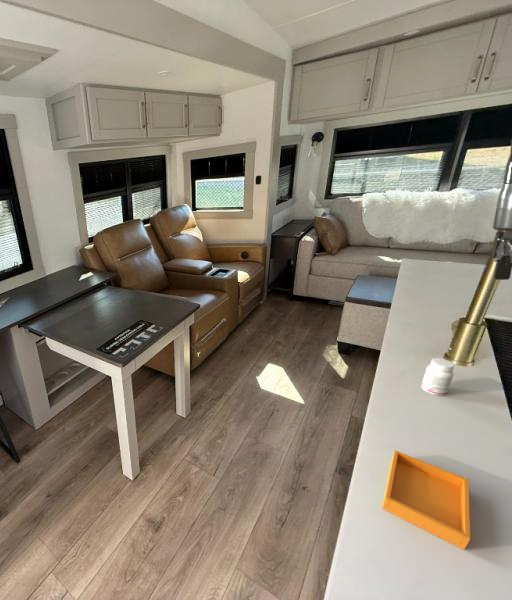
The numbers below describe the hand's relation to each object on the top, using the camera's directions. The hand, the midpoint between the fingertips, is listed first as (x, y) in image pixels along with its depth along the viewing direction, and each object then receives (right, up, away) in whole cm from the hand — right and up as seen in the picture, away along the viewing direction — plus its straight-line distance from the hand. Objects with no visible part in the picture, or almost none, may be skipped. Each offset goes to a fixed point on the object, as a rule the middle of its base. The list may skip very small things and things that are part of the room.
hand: (510, 283), depth 67 cm
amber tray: (-28, -40, -10) cm, 50 cm away
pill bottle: (-2, -27, +15) cm, 31 cm away
